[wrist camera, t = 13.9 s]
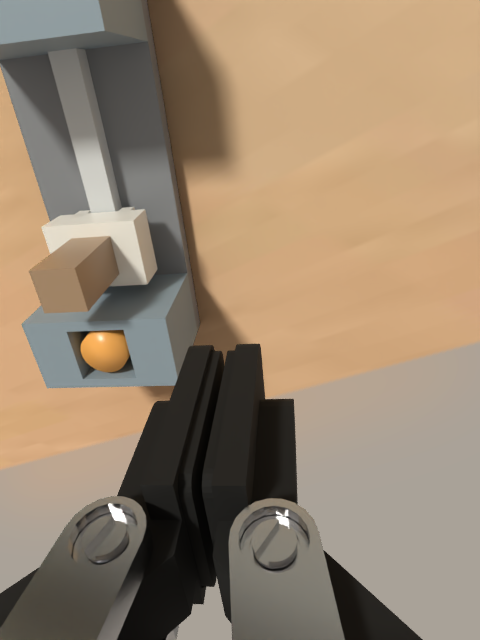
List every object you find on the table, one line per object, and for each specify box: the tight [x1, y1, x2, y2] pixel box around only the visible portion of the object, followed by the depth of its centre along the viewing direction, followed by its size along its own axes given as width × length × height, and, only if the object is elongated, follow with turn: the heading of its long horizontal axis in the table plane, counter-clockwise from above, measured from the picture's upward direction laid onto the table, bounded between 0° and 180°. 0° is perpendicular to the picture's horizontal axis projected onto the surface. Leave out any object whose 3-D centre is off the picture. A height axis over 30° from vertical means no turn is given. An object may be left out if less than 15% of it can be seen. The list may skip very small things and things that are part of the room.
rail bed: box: [0, 0, 200, 388], centre depth 31 cm, size 12×29×10 cm, turn 5°
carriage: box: [29, 207, 157, 313], centre depth 31 cm, size 7×5×10 cm
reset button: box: [81, 330, 130, 372], centre depth 34 cm, size 4×4×3 cm
